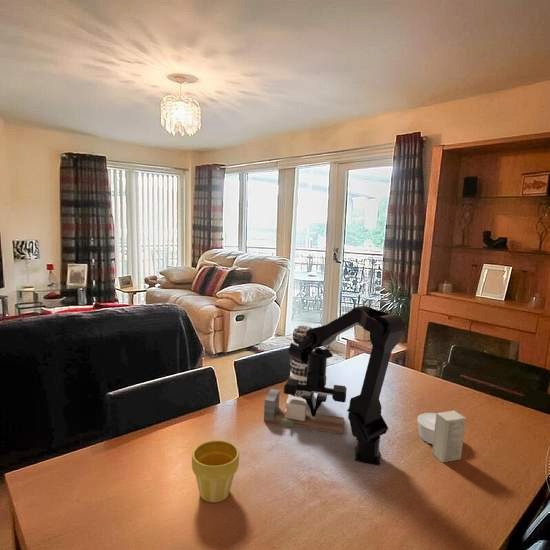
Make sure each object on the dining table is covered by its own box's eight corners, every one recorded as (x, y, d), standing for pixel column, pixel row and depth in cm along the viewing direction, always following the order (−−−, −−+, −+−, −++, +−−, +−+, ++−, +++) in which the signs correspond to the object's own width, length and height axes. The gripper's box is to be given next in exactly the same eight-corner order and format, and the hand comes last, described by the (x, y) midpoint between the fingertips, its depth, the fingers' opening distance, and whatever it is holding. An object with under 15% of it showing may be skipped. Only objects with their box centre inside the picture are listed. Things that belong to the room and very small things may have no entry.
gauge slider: (303, 426, 113) (303, 410, 113) (283, 422, 115) (284, 407, 114) (306, 413, 121) (307, 398, 120) (288, 410, 122) (288, 395, 122)
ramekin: (413, 442, 110) (415, 425, 109) (418, 424, 120) (420, 408, 119) (455, 454, 105) (458, 436, 104) (457, 435, 115) (459, 418, 114)
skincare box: (449, 450, 107) (454, 409, 105) (461, 460, 102) (466, 417, 101) (430, 453, 105) (435, 412, 103) (442, 463, 101) (447, 420, 99)
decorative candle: (284, 398, 133) (287, 329, 129) (290, 388, 142) (294, 322, 138) (309, 403, 130) (314, 332, 127) (315, 392, 139) (319, 325, 136)
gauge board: (342, 435, 112) (344, 412, 111) (263, 422, 117) (264, 400, 116) (343, 420, 120) (345, 399, 119) (269, 409, 125) (270, 388, 124)
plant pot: (216, 471, 93) (217, 433, 92) (247, 491, 87) (248, 451, 86) (181, 492, 85) (182, 452, 84) (212, 517, 79) (213, 473, 78)
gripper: (348, 362, 122) (345, 408, 124) (291, 355, 126) (288, 399, 128) (347, 375, 111) (343, 425, 113) (284, 367, 115) (282, 416, 117)
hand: (313, 416), depth 118 cm, fingers closed
